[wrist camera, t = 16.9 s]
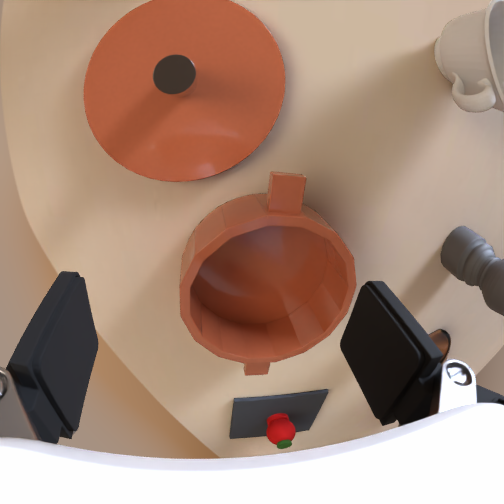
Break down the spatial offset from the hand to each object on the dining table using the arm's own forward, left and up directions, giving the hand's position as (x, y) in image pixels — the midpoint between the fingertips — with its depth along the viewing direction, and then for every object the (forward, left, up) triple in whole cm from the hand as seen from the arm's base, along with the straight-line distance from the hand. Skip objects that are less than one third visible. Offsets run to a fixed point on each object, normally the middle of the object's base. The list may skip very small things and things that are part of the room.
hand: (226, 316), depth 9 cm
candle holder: (+31, -5, -17) cm, 36 cm away
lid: (-3, +8, -16) cm, 18 cm away
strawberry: (+11, -35, -16) cm, 40 cm away
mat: (+11, -35, -17) cm, 40 cm away
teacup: (+22, +16, -17) cm, 32 cm away
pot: (+5, -8, -17) cm, 19 cm away
